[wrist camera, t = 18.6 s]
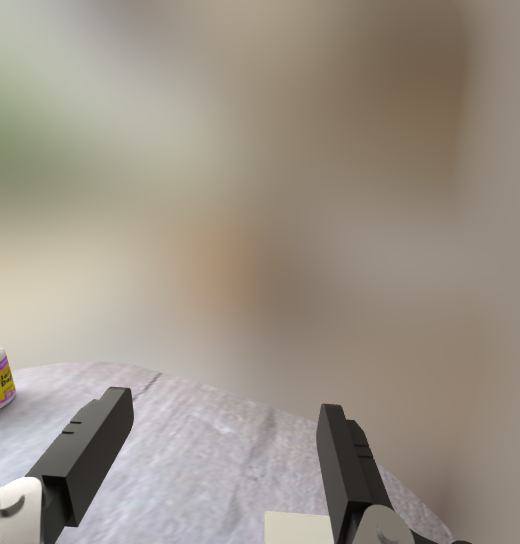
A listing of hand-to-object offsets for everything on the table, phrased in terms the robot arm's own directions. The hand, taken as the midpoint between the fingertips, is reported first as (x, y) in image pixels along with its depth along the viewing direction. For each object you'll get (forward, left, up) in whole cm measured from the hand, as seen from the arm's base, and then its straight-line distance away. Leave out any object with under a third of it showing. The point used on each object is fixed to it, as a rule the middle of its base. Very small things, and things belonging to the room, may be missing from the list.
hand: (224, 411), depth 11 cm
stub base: (+13, -5, -32) cm, 35 cm away
